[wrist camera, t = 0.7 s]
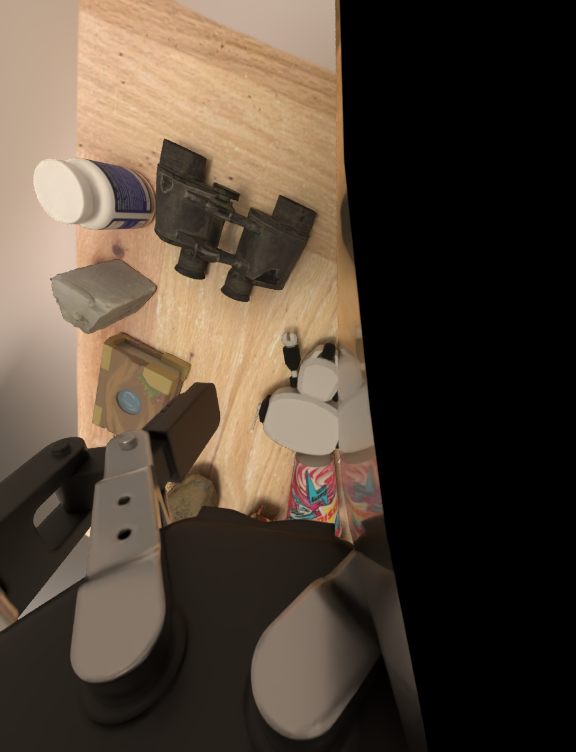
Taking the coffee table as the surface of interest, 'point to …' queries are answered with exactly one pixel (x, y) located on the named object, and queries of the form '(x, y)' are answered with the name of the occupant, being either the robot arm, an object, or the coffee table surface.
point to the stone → (191, 497)
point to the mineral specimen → (100, 294)
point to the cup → (314, 490)
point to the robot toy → (305, 402)
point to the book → (134, 384)
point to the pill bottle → (94, 194)
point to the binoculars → (206, 220)
